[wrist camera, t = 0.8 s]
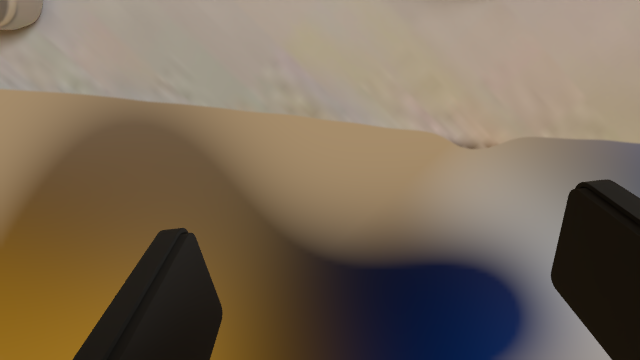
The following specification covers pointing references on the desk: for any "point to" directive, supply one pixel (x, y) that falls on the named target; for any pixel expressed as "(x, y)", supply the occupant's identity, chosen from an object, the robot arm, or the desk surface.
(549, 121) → the desk surface
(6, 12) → the plastic bottle
